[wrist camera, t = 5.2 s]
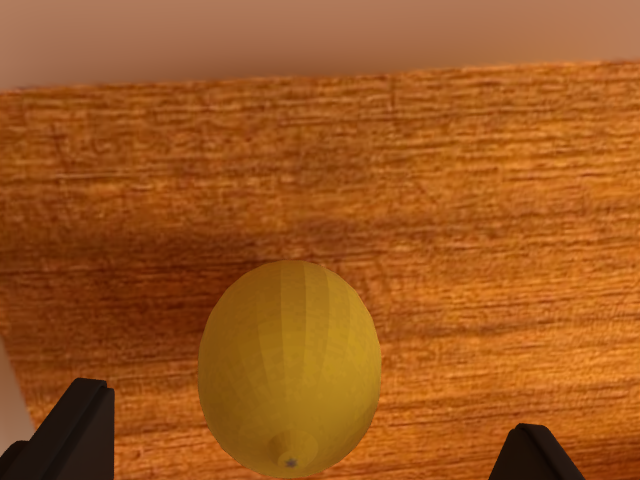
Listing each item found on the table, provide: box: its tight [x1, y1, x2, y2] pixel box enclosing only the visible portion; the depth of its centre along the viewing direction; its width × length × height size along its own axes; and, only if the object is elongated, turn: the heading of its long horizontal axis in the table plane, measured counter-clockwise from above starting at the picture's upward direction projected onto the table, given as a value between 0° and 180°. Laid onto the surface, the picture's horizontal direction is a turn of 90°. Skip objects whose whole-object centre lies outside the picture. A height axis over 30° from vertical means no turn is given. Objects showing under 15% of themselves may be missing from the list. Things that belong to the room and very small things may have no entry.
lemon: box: [198, 260, 381, 479], centre depth 13 cm, size 6×6×8 cm
